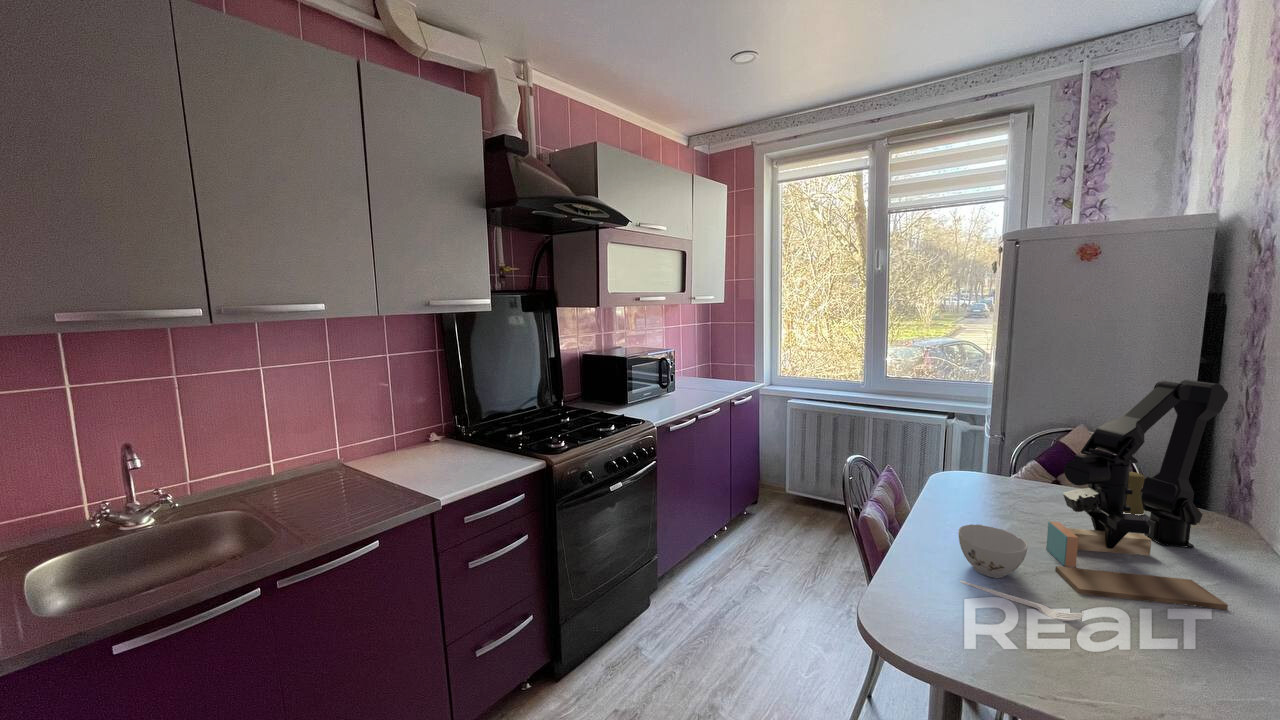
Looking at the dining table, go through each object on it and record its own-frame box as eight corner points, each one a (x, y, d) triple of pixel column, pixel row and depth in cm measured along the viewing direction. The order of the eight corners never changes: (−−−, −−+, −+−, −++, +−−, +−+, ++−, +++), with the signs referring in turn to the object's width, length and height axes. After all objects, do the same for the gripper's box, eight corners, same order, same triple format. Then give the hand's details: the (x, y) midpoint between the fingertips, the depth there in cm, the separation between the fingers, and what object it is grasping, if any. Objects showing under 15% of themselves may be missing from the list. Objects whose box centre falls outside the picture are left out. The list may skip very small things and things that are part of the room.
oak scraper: (1140, 549, 121) (1142, 533, 121) (1149, 556, 118) (1151, 539, 118) (1061, 543, 125) (1063, 527, 124) (1068, 549, 122) (1070, 533, 122)
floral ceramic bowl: (1007, 593, 104) (1010, 556, 103) (944, 566, 115) (946, 532, 114) (1041, 572, 112) (1044, 537, 111) (979, 548, 123) (981, 516, 122)
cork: (1122, 514, 140) (1126, 475, 138) (1109, 506, 145) (1113, 468, 144) (1149, 517, 138) (1154, 477, 137) (1135, 508, 144) (1139, 470, 142)
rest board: (1190, 584, 107) (1191, 579, 106) (1227, 609, 98) (1227, 604, 98) (1055, 570, 113) (1055, 566, 113) (1078, 593, 104) (1078, 588, 104)
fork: (961, 581, 110) (962, 573, 110) (1083, 621, 96) (1084, 611, 96) (957, 587, 108) (957, 579, 108) (1081, 629, 94) (1081, 619, 93)
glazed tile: (1056, 550, 121) (1059, 522, 121) (1075, 567, 114) (1078, 537, 113) (1045, 549, 122) (1048, 521, 121) (1064, 566, 114) (1066, 536, 114)
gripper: (1050, 466, 131) (1045, 524, 132) (1094, 493, 113) (1087, 560, 115) (1102, 469, 128) (1096, 528, 130) (1156, 497, 110) (1148, 566, 112)
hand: (1104, 544), depth 121 cm, fingers closed on oak scraper, 3 cm apart
